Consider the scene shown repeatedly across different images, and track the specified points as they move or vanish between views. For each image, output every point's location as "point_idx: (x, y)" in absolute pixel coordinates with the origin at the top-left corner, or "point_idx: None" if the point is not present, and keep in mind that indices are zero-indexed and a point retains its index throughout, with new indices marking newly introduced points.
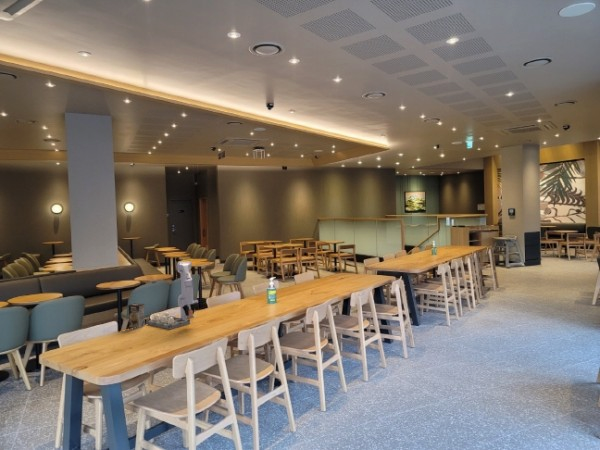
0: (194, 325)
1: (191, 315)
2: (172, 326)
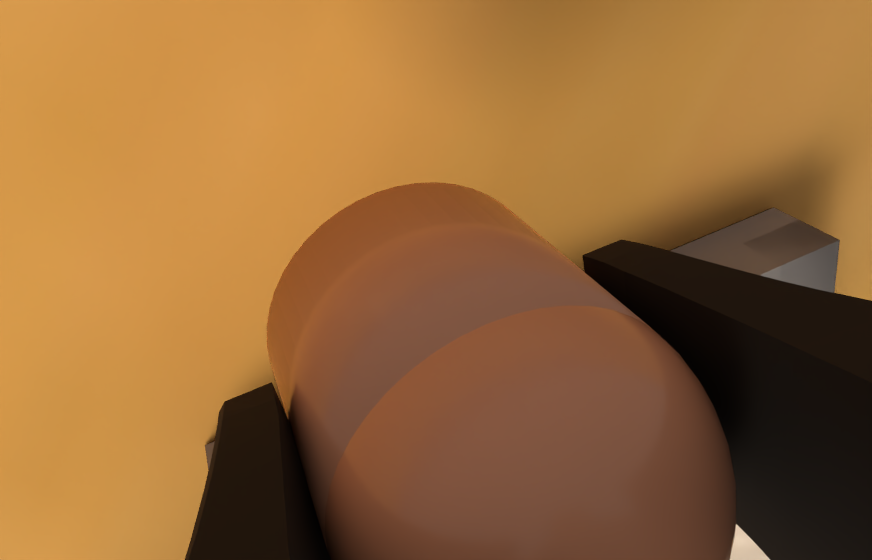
0: (171, 161)
1: (432, 218)
2: (744, 256)
